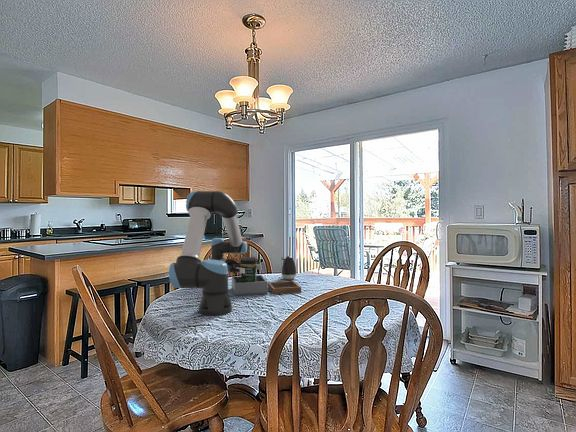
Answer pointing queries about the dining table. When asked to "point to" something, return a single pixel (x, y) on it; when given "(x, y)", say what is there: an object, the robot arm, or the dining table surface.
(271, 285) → the holder frame
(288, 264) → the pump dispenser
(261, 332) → the dining table surface
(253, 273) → the coffee jar
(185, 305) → the dining table surface
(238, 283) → the box
